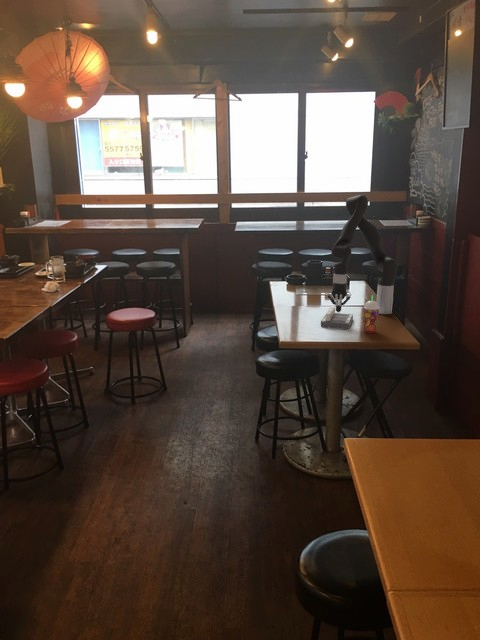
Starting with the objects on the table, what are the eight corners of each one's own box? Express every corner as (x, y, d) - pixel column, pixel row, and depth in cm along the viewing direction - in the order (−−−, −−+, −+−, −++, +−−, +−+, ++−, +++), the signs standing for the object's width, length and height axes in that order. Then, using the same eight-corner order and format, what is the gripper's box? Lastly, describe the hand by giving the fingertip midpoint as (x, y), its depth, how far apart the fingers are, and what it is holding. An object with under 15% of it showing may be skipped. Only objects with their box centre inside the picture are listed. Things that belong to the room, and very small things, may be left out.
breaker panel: (352, 319, 321) (353, 314, 320) (348, 329, 303) (348, 323, 302) (326, 317, 325) (327, 312, 324) (320, 326, 307) (320, 321, 306)
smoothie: (366, 328, 304) (368, 292, 298) (380, 331, 299) (383, 295, 293) (358, 332, 298) (361, 295, 292) (373, 335, 293) (376, 298, 287)
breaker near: (331, 318, 310) (331, 311, 309) (329, 321, 306) (330, 314, 305) (327, 318, 311) (327, 311, 310) (325, 320, 306) (325, 313, 305)
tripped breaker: (333, 315, 316) (333, 308, 315) (331, 317, 312) (332, 311, 310) (328, 315, 317) (329, 308, 316) (327, 317, 312) (327, 310, 311)
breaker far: (334, 312, 322) (335, 306, 321) (333, 315, 318) (333, 308, 316) (330, 312, 323) (331, 305, 322) (329, 314, 318) (329, 307, 317)
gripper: (352, 281, 309) (351, 311, 313) (329, 279, 313) (327, 309, 317) (351, 283, 302) (349, 314, 307) (326, 282, 306) (325, 312, 311)
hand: (338, 311), depth 312 cm, fingers closed
